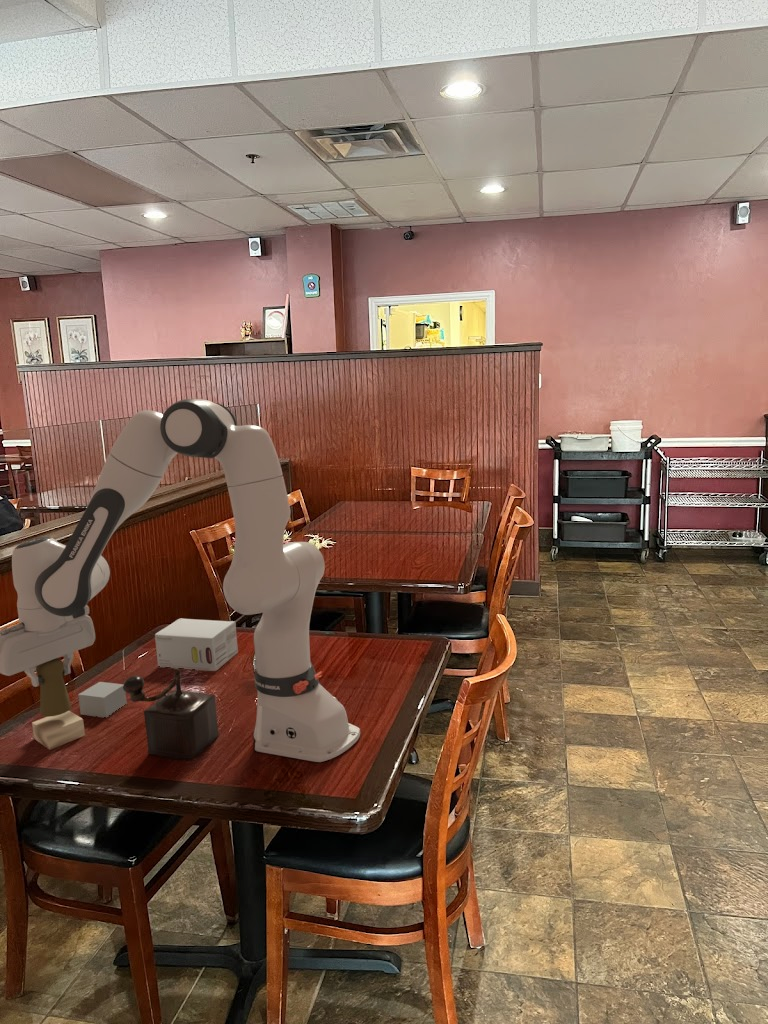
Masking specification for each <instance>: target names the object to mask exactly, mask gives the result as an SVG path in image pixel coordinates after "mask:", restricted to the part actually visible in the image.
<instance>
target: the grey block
mask: <svg viewBox="0 0 768 1024" xmlns="http://www.w3.org/2000/svg"><path fill="white" fill-rule="evenodd" d="M123 686H124V683H123V684H121V683H115V682H114V683H113V682H105V681H98V682H96V683H95V684H93V685H92V686H90V687H88V688H87V689H85V690H83V691H82V692H80V693H78V695H77V696H78V697H77V698H78V702H79V703H78V705H79V709H80V715H82V716H83V715H84V716H91V717H96V716H97V718H104V717H106V719H107V718H108V717H110V716H112V715H113V714H114V713H116V712H117V711H119V710H120V709H121V707H122V706H123V707H125V706H126V705H127V703H128V701H127V695H126V693H127V692H125V691H124V690H123ZM125 704H126V705H125ZM124 705H125V706H124ZM123 707H122V708H123ZM119 708H120V709H119ZM118 709H119V710H118ZM116 710H117V711H116ZM115 711H116V712H115ZM113 712H114V713H113ZM112 713H113V714H112ZM109 715H110V716H109Z"/></svg>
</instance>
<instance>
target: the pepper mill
mask: <svg viewBox="0 0 768 1024" xmlns="http://www.w3.org/2000/svg"><path fill="white" fill-rule="evenodd" d="M173 673H174V676H173V680H172V682H170V684H169V685H168V687H166V688H165V689H164V690H163V691H161V692H160V693H158V694H156V695H154V696H146V693H145V692H144V691H143V688H144V686H145V680H144V678H143V677H142V676H138V675H132V676H130V677H128V678H126V679H125V680H124V682H123V684H124V686H123V690H124V691H125V693H128V694H129V695H130V696H129V697H130V698H129V701H131V702H132V703H135V702H137V703H138V702H149V703H150V702H154V701H155V702H154V703H153V704H151V705H150V706H148V707H147V708H146V709H144V710H143V714H144V715H143V716H144V722H145V733H146V734H145V735H146V741H147V754H150V755H153V756H156V757H158V758H159V757H161V758H165V759H174V760H181V761H192V760H194V759H195V758H197V757H198V756H199V755H200V754H201V753H203V752H204V751H205V750H206V749H207V748H208V747H209V746H210V745H211V744H212V743H213V742H215V740H216V739H217V738H218V737H219V733H220V732H219V728H218V727H219V726H218V717H217V706H216V705H217V704H216V696H215V694H213V693H212V694H210V693H204V692H203V693H202V692H195V691H187V690H182V687H181V685H182V684H181V680H182V674H181V669H178V668H174V670H173ZM174 687H176V688H175V689H174ZM171 690H172V691H171Z"/></svg>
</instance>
